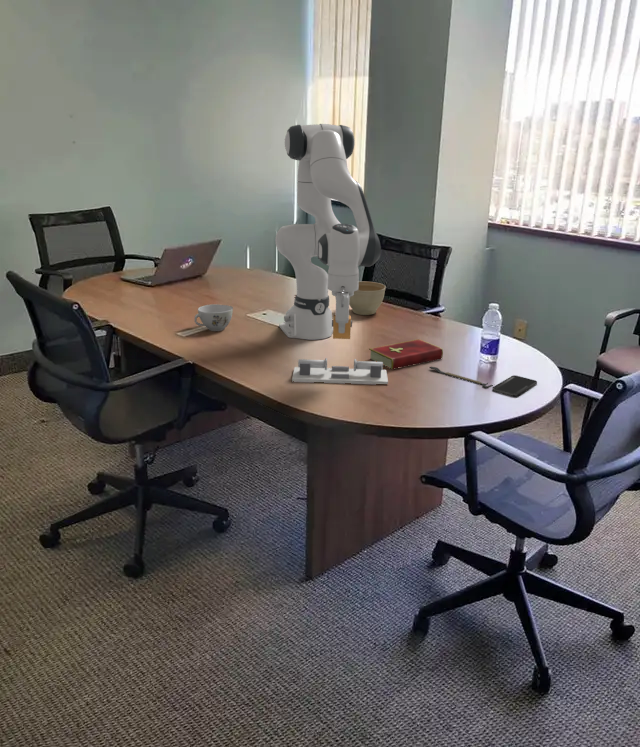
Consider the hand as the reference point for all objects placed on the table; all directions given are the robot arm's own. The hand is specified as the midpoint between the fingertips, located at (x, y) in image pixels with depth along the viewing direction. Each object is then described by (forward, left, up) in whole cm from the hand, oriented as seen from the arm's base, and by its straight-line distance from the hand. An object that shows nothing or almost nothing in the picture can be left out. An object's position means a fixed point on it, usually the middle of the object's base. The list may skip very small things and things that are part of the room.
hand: (341, 329), depth 194 cm
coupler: (0, 0, -2) cm, 2 cm away
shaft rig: (0, 0, -15) cm, 15 cm away
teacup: (-62, -18, -15) cm, 66 cm away
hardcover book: (-6, +28, -16) cm, 32 cm away
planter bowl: (-60, +45, -15) cm, 77 cm away
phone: (+28, +43, -15) cm, 54 cm away
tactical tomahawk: (+15, +34, -16) cm, 40 cm away
